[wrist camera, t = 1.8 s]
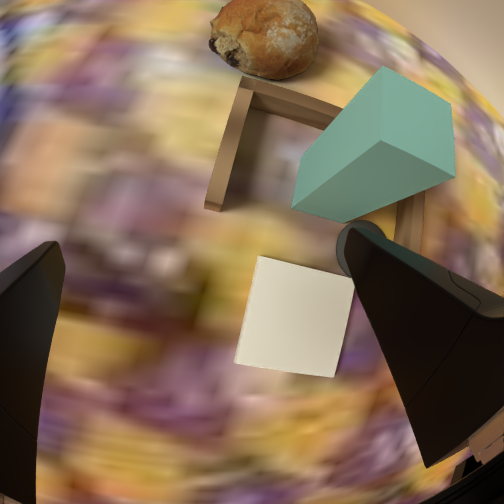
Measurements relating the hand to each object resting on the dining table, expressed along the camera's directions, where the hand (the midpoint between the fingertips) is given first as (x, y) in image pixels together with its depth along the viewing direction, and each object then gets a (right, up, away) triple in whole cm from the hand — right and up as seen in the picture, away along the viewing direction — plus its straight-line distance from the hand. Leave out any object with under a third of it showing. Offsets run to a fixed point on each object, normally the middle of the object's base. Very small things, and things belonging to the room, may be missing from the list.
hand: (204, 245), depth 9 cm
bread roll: (+2, +20, +17) cm, 26 cm away
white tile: (+5, -5, +15) cm, 16 cm away
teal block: (+7, +5, +16) cm, 18 cm away
